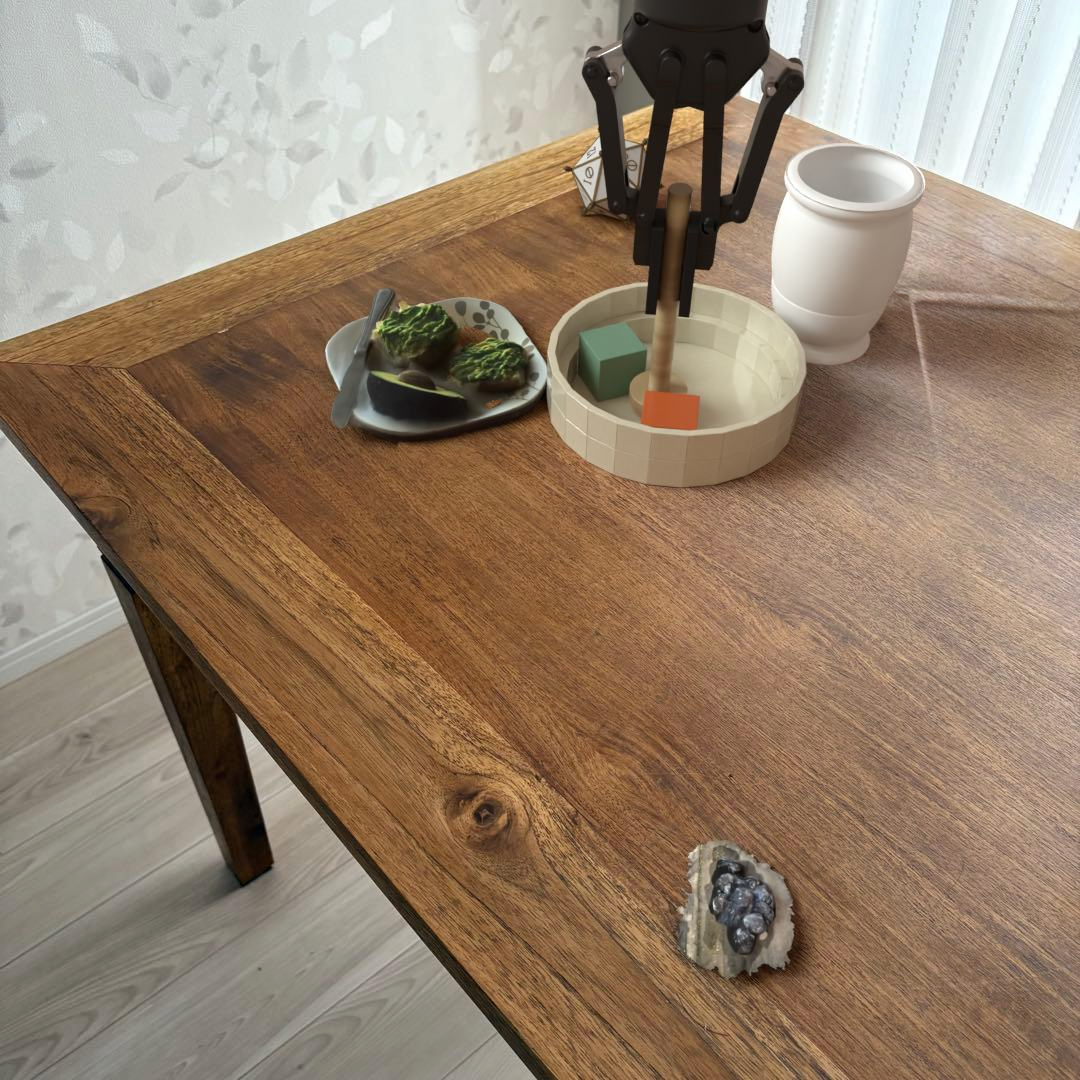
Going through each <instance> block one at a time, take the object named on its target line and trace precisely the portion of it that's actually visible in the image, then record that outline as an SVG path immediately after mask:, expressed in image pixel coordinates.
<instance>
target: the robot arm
mask: <svg viewBox="0 0 1080 1080" xmlns="http://www.w3.org/2000/svg"><path fill="white" fill-rule="evenodd" d="M768 4H769V0H632V11H631V16H630V18H629V20H628V22H627V24H626V25H625V27H624V29H623V33H622V38H621V39H619V40H616V41H615V42H612V43H611V44H608V45H606V46H605V47H601V46H600V45H592V46H590V47H589V48H588V49H587V50H586V54H585V56H584V61H583V64H582V68H581V76H582V78H583V80H584V82H585V84H586V86H587V89H588V90H589V92H590V95H591V96H592V98H593V100H594V102H595V109H596V118H597V128H598V127H599V132H598V136H599V135H600V143H601V152H602V160H603V168H604V177H605V185H606V193H607V202H608V208H609V211H610V212H611V213H612V214H614V215H621V214H624V215H627V216H629V217H630V218H631V220H632V221H633V223H634V233H633V234H634V235H633V236H634V237H633V246H632V247H633V249H632V260H633V261H632V262H633V263H634V266H642V267H648V275H647V276H648V277H647V282H648V286H647V297H646V309H645V314H649V315H656V310H657V301H658V290H659V280H660V270H661V259H662V249H663V239H664V228H665V212H666V208H663V207H662V208H661V207H658V206H657V205H658V199H659V194H660V190H661V189H660V184H661V183H662V177H663V172H664V166H665V161H666V155H667V149H668V144H669V137H670V134H671V133H670V132H671V127H672V122H673V117H674V111H675V110H679V109H686V108H692V109H694V110H697V111H701V112H703V121H702V149H701V151H702V156H701V181H700V182H701V184H700V185H701V186H700V210H691V211H690V219H689V223H688V232H687V240H686V249H685V258H684V267H683V275H682V284H681V293H680V302H679V314H678V317H686V318H689V316H690V308H691V299H692V291H693V283H695V276H696V275H695V274H696V270H697V271H710V270H711V269H712V267H713V266H714V263H715V261H714V260H715V254H716V246H717V239H718V234H719V233H718V232H719V231H720V228H721V227H722V226H723V225H725V224H729V223H734V224H736V225H737V224H744V223H745V222H747V221H748V219H749V218H750V215H751V213H752V209H753V207H754V203H755V200H756V197H757V194H758V191H759V188H760V185H761V182H762V179H763V176H764V173H765V171H766V167H767V165H768V161H769V158H770V156H771V152H772V149H773V147H774V144H775V141H776V138H777V135H778V132H779V129H780V126H781V123H782V121H783V117H784V115H785V114H786V113H787V112H788V109H789V108H790V107H791V106H792V104H793V103H794V102H795V100H796V99H797V98H798V97H799V95H800V94H801V93H802V91H803V90H804V88H805V74H804V73H805V72H804V63H803V61H802V60H801V59H800V58H798V57H789V58H787V57H785V56H783V55H782V54H780V53H779V52H778V51H776V50H774V49H773V48H772V47H771V37H770V34H769V31H768V29H767V25H766V18H767V12H768V6H769V5H768ZM626 62H628V63H629V64H630V67H631V68H632V70H633V71H634V73H635V75H636V76H637V78H638V79H639V81H640V83H641V84H642V85H643V87H644V89H645V90H646V92H647V94H648V95H649V97H650V98H651V99H652V100H653V105H652V112H651V116H650V117H651V118H650V123H649V129H648V134H647V135H648V136H647V138H648V141H647V145H646V149H645V151H646V153H645V160H644V166H643V172H642V178H641V184H640V190H637V189H634V188H632V187H630V185H629V175H628V165H627V156H626V146H625V139H626V138H625V137H626V136H625V127H624V118H623V117H624V116H623V109H622V99H621V89H620V85H621V84H622V82H623V79H624V74H625V67H624V65H625V63H626ZM759 70H761V71H762V76H761V78H760V89H761V92H762V96H761V98H760V102H759V105H758V108H757V110H756V114H755V117H754V120H753V123H752V127H751V130H750V132H749V136H748V139H747V142H746V145H745V149H744V151H743V154H742V157H741V161H740V164H739V168H738V170H737V173H736V177H735V180H734V182H733V186H732V189H731V191H730V193H727V194H723V195H721V192H722V191H721V190H722V169H723V168H722V167H723V150H724V149H723V148H724V128H725V126H724V125H725V106H726V105H727V104H729V103H730V102H731V101H732V100H733V99H734V98H735V96H737V94H738V93H739V92H740V91H741V90H742V89H743V88H744V87H745V86H746V84H748V83H749V82H750V80H751V79H752V78H753V77H754V75H756V74H757V73H758V71H759ZM630 218H629V219H630Z"/></svg>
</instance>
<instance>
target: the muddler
mask: <svg viewBox="0 0 1080 1080" xmlns="http://www.w3.org/2000/svg"><path fill="white" fill-rule="evenodd" d="M693 195H694V189H693V187H692V186H691V185H690V184H688V183H685V182H673V183H671V184H669V186H668V187H667V191H666V201H665V209H666V212H665V228H664V239H663V249H662V259H661V270H660V280H659V290H658V301H657V310H656V315H655V324H654V334H653V344H652V354H651V364H650V370H649V371H645V372H642V373H640V374H638V375H637V376H636V377H635V378H634V379H633V380H632V381H631V383H630V389H629V407H630V409H631V411H632V412H633V413H634V414H635V415H636V416H637V417H639V418H640V419H641V417H642V410H643V403H644V397H645V391H646V390H647V391H656V392H666V393H676V394H686V395H688V388H687V385H686V383H685V382H684V380H683V379H682V378H681V377H679V376H678V375H676V374H674V373H672V363H673V355H674V346H675V338H676V329H677V321H678V312H679V302H680V293H681V284H682V275H683V267H684V258H685V249H686V240H687V232H688V223H689V219H690V211H692V210H691V209H692V201H693Z"/></svg>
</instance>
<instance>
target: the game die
mask: <svg viewBox="0 0 1080 1080" xmlns="http://www.w3.org/2000/svg"><path fill="white" fill-rule="evenodd" d="M597 133H599V127H598V126H597ZM647 141H648V137H646V138H643V139H642V141H641V142H638V141H635V140H634V141H633V140H629V139H626V138H625V146H626V156H627V165H628V175H629V185H630V187H632V188H634V189H637V190H640V184H641V178H642V172H643V166H644V160H645V153H646V149H645V146H647ZM562 169H563V171H565V172H568V173H569V172H571V175H572V176H573V179H574V182H575V184H576V187H577V190H578V192H579V195H580V198H581V200H582V203H583V206H584V208H582V209H581V210H580V216H583V215H587V213H588V211H590V212H593V213H596V214H601V215H603V216H607V217H610V218H613V219H617V220H620V221H624V227H625V228H626V229H627V230H630V227H631V224H630V223H631V222H630V221H629V219H630V217H629V216H627V215H624V214H621V215H614V214H612V213H611V212H610V211H609V208H608V202H607V193H606V185H605V177H604V168H603V160H602V152H601V143H600V135H599V134H598V136H597V138H596V139H595V140H594V141H593V142H592V144H591V145H590V146H589V147H588V148H587V150H586V151H584V153H583V154H582V155H581V156H580V158H579V159H578V160H577V162H575V164H574V165H573V166H572V167H571V166H569V165H566V166H563V167H562ZM664 188H666V186H665V185H664V184H663V183H662V182H661V183H660V189H659V190H662V189H664Z"/></svg>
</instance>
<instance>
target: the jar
mask: <svg viewBox="0 0 1080 1080" xmlns="http://www.w3.org/2000/svg"><path fill="white" fill-rule="evenodd" d="M783 180H784V184H785V185H784V186H785V187H786V190H787V192H786V193H785V195H784V198H783V201H782V203H781V206H780V209H779V212H778V215H777V219H776V222H775V226H774V231H773V237H772V245H771V257H770V260H771V283H770V284H771V285H770V286H771V289H770V290H771V301H772V307H773V310H774V311H773V312H774V313H775V314H777V315H778V316H779V317H780V318H781V319H782V320H783V321H784V322H785V323H786V324H787V325H788V326H789V327H790V328H791V329H792V330H793V331H794V332H795V333H796V335H797V337H798V339H799V341H800V343H801V345H802V347H803V349H804V351H805V354H806V363H808V364H815V365H825V366H831V365H842V364H847V363H850V362H852V361H855V360H857V359H859V358H860V357H862V356H863V355H864V354H865V353H866V352H867V350H868V349H869V347H870V343H871V335H870V332H871V330H872V329H873V328H875V326H876V324H877V322H879V320H880V318H881V317H882V315H883V313H884V312H885V310H886V307H887V305H888V303H889V301H890V298H891V296H892V295H893V292H894V290H895V288H896V286H897V284H898V282H899V279H900V277H901V274H902V272H903V269H904V267H905V263H906V260H907V257H908V253H909V249H910V244H911V239H912V231H913V222H914V209H915V208H917V206H918V205H919V203H920V202H921V200H922V199H923V196H924V193H925V188H926V179H925V176H924V174H923V173H922V171H921V170H920V169H919V168H918V166H917V165H915V164H914V163H913V162H912V161H910V160H909V159H908V158H906V157H903V156H902V155H899V154H898V153H895V152H893V151H890V150H887V149H885V148H881V147H878V146H873V145H869V144H861V143H851V142H834V143H833V142H832V143H823V144H819V145H814V146H810V147H807V148H804V149H803V150H801V151H799V152H797V153H795V154H794V155H793V156H792V157H791V158H790V159H789V160H788V161H787V164H786V167H785V172H784V179H783Z"/></svg>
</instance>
